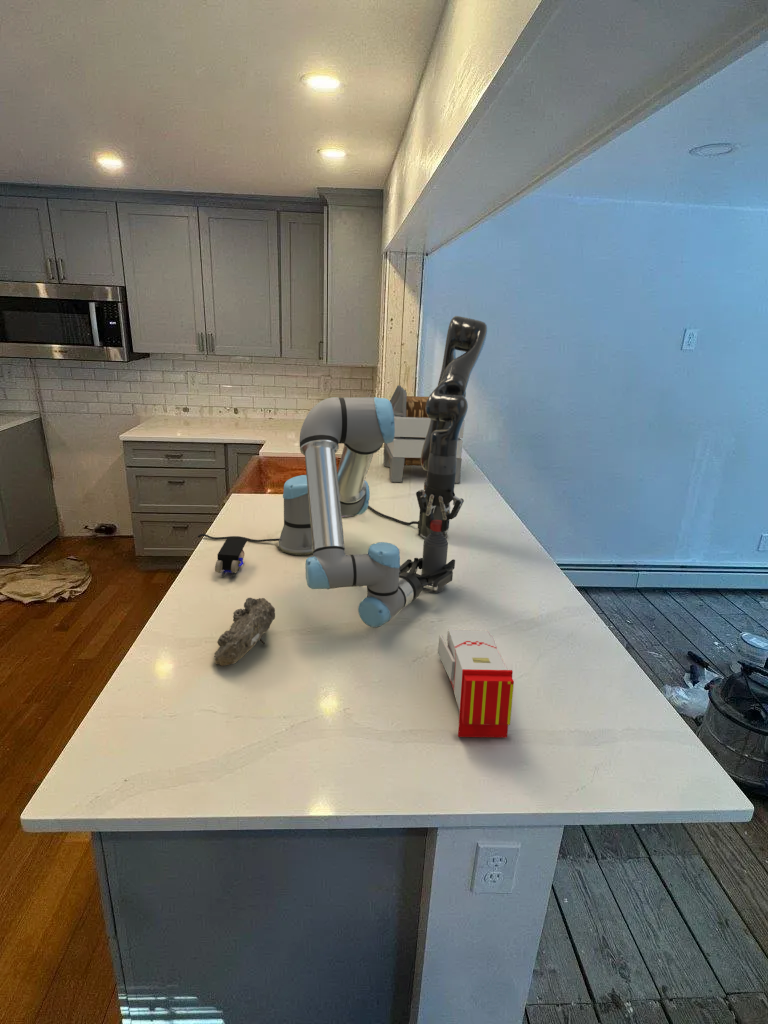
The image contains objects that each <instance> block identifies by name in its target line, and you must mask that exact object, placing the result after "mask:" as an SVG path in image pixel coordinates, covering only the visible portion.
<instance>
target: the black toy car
mask: <svg viewBox="0 0 768 1024" xmlns="http://www.w3.org/2000/svg"><path fill="white" fill-rule="evenodd" d="M247 542H248V540H247V539H241V538H227V539H225V541H224V543H223V544H222V546H221V547H220V549H219V551H218V552H217V560H216V562H215V564H214V572H215V573H221V577H222V578H224V577H225V576H226V574H227V573H230V574H231V573H232V574H231V578H234V577H235V575H236V573H237V572H239V571H240V567H242V566H243V565H244V564H245V562H244V558H245V551H244V547H245V546H246V544H247Z"/></svg>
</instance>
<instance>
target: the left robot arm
mask: <svg viewBox="0 0 768 1024" xmlns="http://www.w3.org/2000/svg"><path fill="white" fill-rule="evenodd" d="M394 435H395V422H394V413H393V408H392V404H391V402H390V400H389V399H388V398H386V397H377V396H374V397H373V396H371V397H370V396H369V397H338V396H333V397H327V398H324V399H322V400H320V401H319V402H318V403H316V404H315V405H314V406H313V407H312V408H311V409H310V410H309V412H308V413H307V414H306V416H305V419H304V420H303V422H302V425H301V427H300V432H299V451H300V453H301V454H302V455H303V456H304V463H305V473H306V474H301V475H296V476H293V477H291V478H289V479H287V480H286V481H285V482H284V484H283V493H282V498H283V527H282V529H281V533H280V536H279V538H264V539H253V538H249V537H245V536H239V535H230V536H211V535H209V534H206V533H200V534H198V535H197V538H202V537H206V538H208V539H210V540H226V539H227V538H241V539H247V542H248V541H249V542H254V543H263V542H278V549H279V550H280V552H282V553H285V554H287V555H291V556H298V557H299V556H300V557H301V556H302V557H303V556H309V557H307V558H306V559H305V563H304V564H305V565H304V566H305V567H304V569H305V581H306V585H307V587H308V588H309V589H311V590H331V589H341V588H353V587H366V597H364V598H363V599H362V600H361V601H360V602H359V604H358V607H357V608H358V609H357V611H358V616H359V618H360V620H361V622H363V623H364V624H365V625H367V626H368V627H371V628H379V627H381V626H383V625H384V624H386V623H388V622H390V620H391V619H393V618H394V617H395V616H396V615H397V614H398V613H400V612H401V611H402V610H403V609H404V608H406V607H407V606H408V605H409V604H411V603H412V602H413V601H414V600H416V599H417V598H418V597H419V596H420V595H421V593H422V592H423V591H424V590H426V589H431V590H432V592H433V593H432V594H437V593H436V592H437V591H438V589H440V588H441V587H443V586H444V587H445V586H446V585H448V584H450V583H451V582H452V581H453V576H454V572H453V570H454V569H455V566H456V559H455V558H454V559H453V558H452V559H451V560H449V562H448V563H447V562H446V565H445V566H444V567H443V569H442V570H439V571H436V572H433V573H430V574H428V573H425V574H422V575H421V574H419V573H417V572H418V570H422V559H423V557H420V558H418V557H414V558H413V559H410V558H408V559H406V560H405V561H404V562H403V563H402V564H401V555H400V554H401V552H400V551H401V550H400V548H399V547H398V546H397V545H395V544H393V543H390V542H387V541H378V542H376V543H372V544H370V545H369V546H368V551H367V553H353V554H346V547H345V537H344V536H345V535H344V526H343V517H342V516H344V515H351V516H350V517H353V516H358V515H363V514H365V513H366V512H367V510H368V509H369V508H368V505H369V504H370V502H369V501H370V496H371V495H370V486H369V483H368V481H367V480H366V477H367V474H368V471H369V469H370V467H371V466H370V465H371V462H372V460H373V457H374V454H376V453H378V452H379V451H380V450H381V449H382V448H383V446H384V443H386V444H388V443H391V442H393V440H394ZM340 444H343V448H342V453H341V457H340V460H339V464H338V467H337V457H336V453H337V452H338V451H339V449H340ZM369 506H370V505H369ZM412 560H413V561H412ZM424 592H425V591H424Z"/></svg>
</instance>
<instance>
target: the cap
mask: <svg viewBox="0 0 768 1024" xmlns="http://www.w3.org/2000/svg"><path fill="white" fill-rule="evenodd" d="M441 527H442V521H441V520H432V521H431V523H430V529H431V530H432V531H436V532H441Z"/></svg>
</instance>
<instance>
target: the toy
mask: <svg viewBox="0 0 768 1024" xmlns="http://www.w3.org/2000/svg"><path fill="white" fill-rule="evenodd" d="M446 640H447V643H446V641H445V639H444V636H443V635H442V634H439V637H438V646H437V656H438V657H439V659H440V661H441V663H442V666H443V668H444V670H445V672H446V674H447V677H448V679H449V681H450V684H451V687H452V690H453V693H454V697H455V701H456V705H457V708H458V711H459V714H458V715H459V716H458V730H457V731H458V732H457V737H458V738H508V731H509V726H510V725H511V717H512V707H513V697H514V696H513V695H514V684H515V680H514V679H513V673H514V671H513V670H512V669H508V667H507V665H506V662H505V661H504V659H503V658H502V655H501V653H500V651H499V649H498V647H497V643H496V639H495V637H494V635H493V634H491V632H490V631H489V629H467V628H466V629H465V628H463V629H461V628H460V629H459V628H448V630H447V639H446Z"/></svg>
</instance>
